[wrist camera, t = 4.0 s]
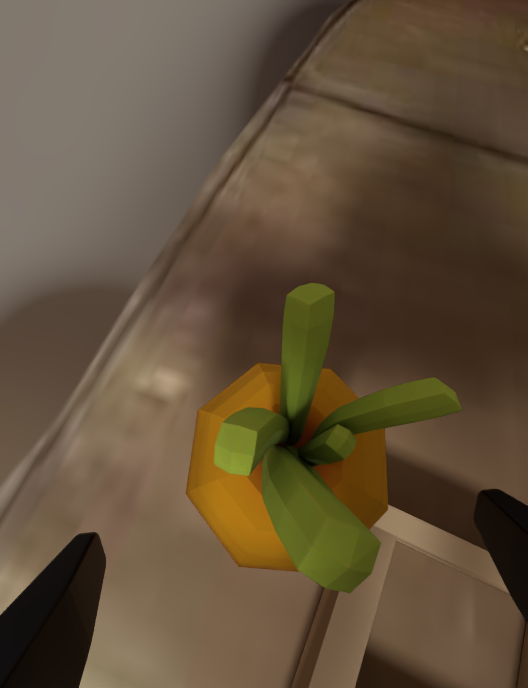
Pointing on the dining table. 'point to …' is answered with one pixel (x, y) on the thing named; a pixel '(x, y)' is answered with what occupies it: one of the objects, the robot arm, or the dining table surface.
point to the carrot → (302, 455)
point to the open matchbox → (361, 604)
